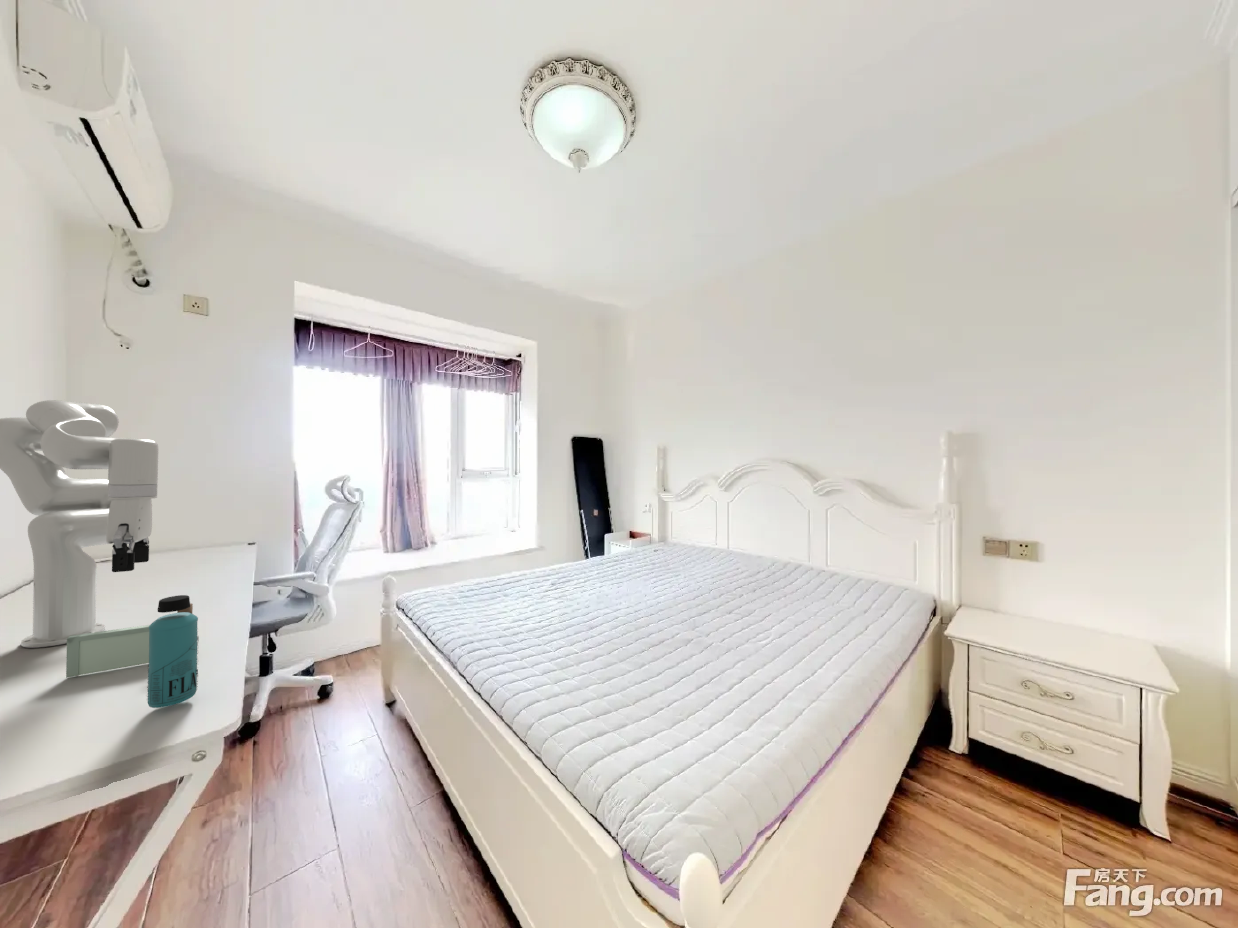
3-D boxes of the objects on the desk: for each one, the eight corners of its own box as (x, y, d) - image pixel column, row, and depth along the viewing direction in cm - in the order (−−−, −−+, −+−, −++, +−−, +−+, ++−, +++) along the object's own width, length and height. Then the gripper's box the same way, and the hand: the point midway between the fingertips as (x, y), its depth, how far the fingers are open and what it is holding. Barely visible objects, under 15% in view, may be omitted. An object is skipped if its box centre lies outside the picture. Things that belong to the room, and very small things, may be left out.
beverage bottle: (163, 719, 73) (166, 604, 73) (135, 714, 74) (137, 601, 74) (207, 699, 79) (209, 593, 79) (180, 694, 81) (182, 590, 81)
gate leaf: (170, 657, 95) (170, 621, 95) (167, 660, 93) (168, 624, 93) (70, 674, 87) (70, 635, 87) (66, 677, 85) (66, 638, 85)
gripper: (123, 489, 102) (122, 560, 102) (90, 495, 88) (88, 577, 88) (168, 489, 107) (166, 557, 107) (143, 494, 92) (141, 573, 92)
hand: (131, 566), depth 97 cm, fingers open, 8 cm apart
